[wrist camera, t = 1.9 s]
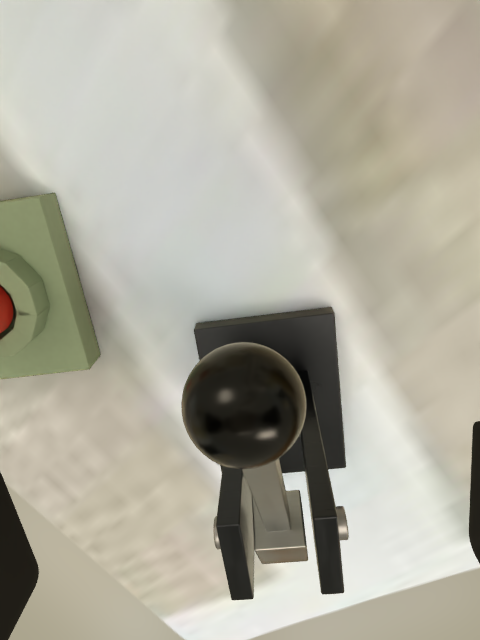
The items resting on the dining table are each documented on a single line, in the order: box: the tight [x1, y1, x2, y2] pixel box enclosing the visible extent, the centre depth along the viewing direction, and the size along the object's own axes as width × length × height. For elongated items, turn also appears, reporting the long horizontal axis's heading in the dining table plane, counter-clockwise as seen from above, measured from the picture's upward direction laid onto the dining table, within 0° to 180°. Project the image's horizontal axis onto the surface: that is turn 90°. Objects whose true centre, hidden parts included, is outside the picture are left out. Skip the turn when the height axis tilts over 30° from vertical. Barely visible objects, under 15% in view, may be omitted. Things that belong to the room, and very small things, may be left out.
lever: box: [182, 342, 308, 564], centre depth 16 cm, size 15×3×3 cm, turn 8°
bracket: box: [194, 307, 349, 600], centre depth 26 cm, size 12×9×14 cm
